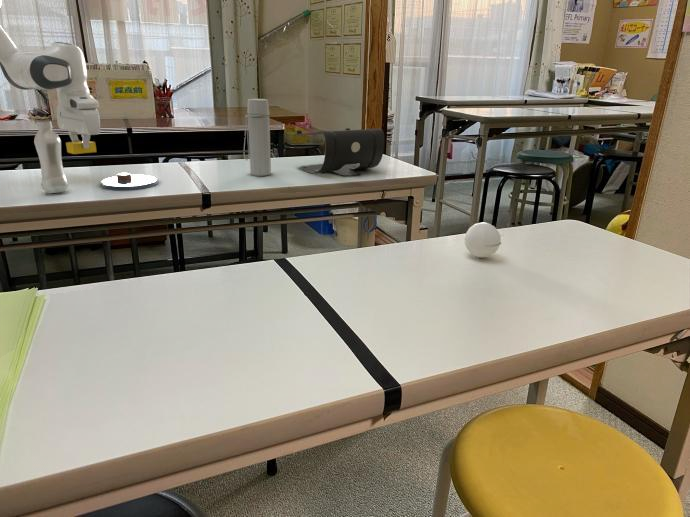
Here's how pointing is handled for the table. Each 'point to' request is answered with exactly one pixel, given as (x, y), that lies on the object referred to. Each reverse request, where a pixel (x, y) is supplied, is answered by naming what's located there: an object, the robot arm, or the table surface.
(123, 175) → the crust
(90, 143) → the sponge
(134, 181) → the plate
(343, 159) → the laptop stand
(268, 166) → the water bottle
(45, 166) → the plastic bottle
